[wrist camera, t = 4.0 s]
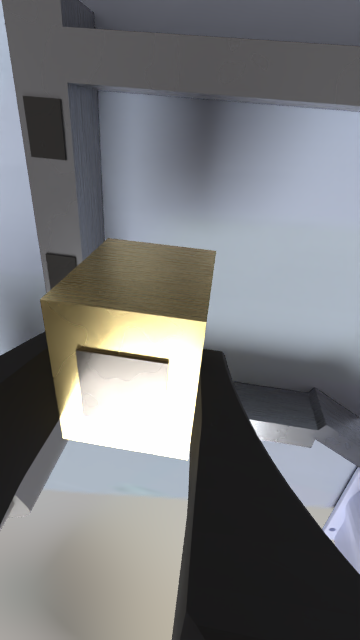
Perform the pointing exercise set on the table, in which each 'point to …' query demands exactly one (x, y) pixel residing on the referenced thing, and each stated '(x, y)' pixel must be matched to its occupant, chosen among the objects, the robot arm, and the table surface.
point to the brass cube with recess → (130, 345)
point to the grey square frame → (165, 80)
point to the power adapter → (37, 475)
